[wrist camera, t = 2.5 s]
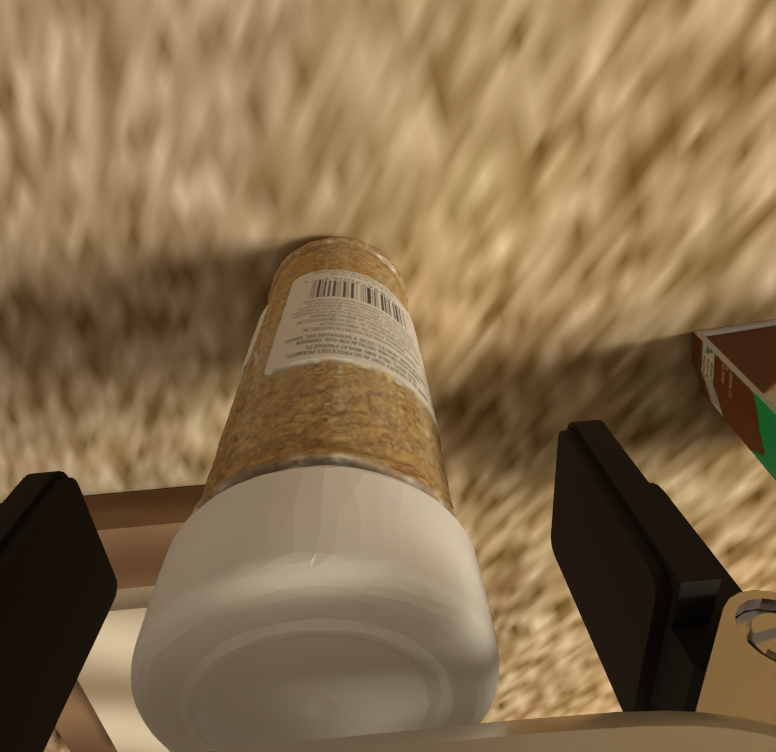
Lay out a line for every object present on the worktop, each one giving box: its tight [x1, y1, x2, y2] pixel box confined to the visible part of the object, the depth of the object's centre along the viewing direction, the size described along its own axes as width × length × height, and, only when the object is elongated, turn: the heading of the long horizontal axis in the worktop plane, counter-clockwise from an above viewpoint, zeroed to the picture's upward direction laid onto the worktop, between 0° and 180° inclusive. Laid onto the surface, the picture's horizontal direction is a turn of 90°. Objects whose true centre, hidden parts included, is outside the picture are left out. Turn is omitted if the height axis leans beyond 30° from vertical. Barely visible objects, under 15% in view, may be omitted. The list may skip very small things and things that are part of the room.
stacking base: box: [0, 485, 205, 752], centre depth 24 cm, size 16×16×3 cm
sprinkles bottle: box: [131, 237, 499, 752], centre depth 13 cm, size 5×5×13 cm
